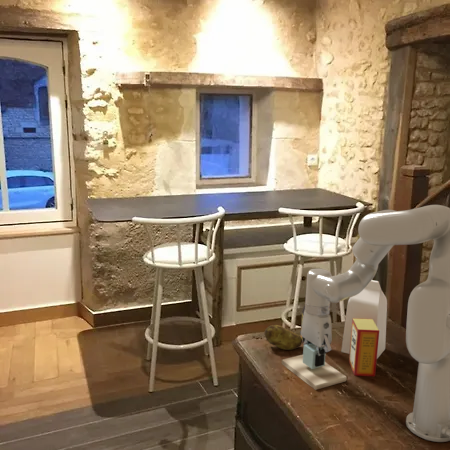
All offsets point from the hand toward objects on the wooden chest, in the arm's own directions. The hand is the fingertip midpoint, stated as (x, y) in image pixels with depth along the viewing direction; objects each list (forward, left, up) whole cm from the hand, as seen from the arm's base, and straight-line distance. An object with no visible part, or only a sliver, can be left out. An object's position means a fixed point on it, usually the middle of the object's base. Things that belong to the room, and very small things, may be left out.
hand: (313, 361), depth 165 cm
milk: (+5, -26, -4) cm, 27 cm away
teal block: (0, 0, -1) cm, 1 cm away
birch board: (0, 0, -4) cm, 4 cm away
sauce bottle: (+18, -12, -4) cm, 22 cm away
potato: (+19, -1, -4) cm, 20 cm away
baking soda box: (-5, -16, -4) cm, 17 cm away
